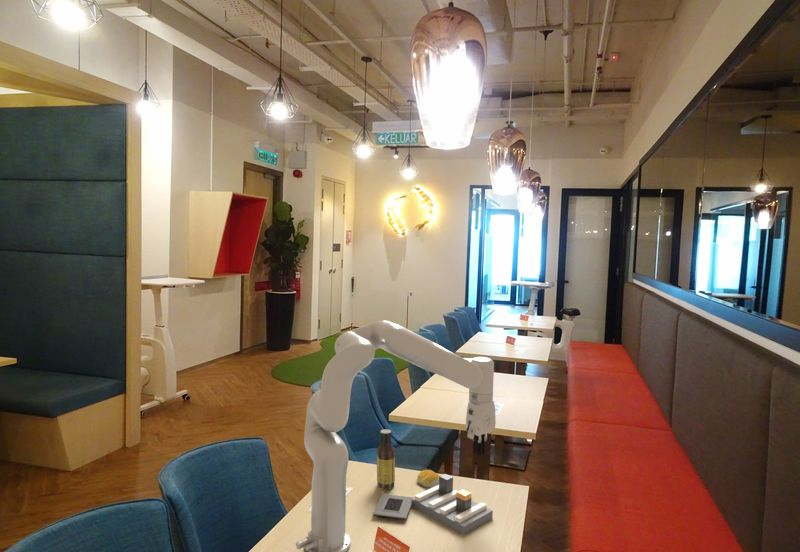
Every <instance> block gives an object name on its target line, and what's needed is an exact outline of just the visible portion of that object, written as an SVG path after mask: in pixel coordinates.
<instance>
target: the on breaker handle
mask: <svg viewBox="0 0 800 552" xmlns="http://www.w3.org/2000/svg"><path fill="white" fill-rule="evenodd" d="M453 484H454V477H453V476H451V475H449V474H447V473H443V474H442V475H440V476H439V493H441V494H443V495H445V494H448V493H450V492H452V491H454V485H453Z"/></svg>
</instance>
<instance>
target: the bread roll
mask: <svg viewBox="0 0 800 552" xmlns="http://www.w3.org/2000/svg"><path fill="white" fill-rule="evenodd" d="M439 476H441V475H440V474H439V473H436V472H435V471H433V470H432V469H423V470H422V471H419V472H418V475H417V476H416V477H417V479H416V480H417V483H418V484H419V485H421V486H422V487H425V488H428V489H431V488H433V487H435V486H437V485H439Z"/></svg>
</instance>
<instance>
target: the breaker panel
mask: <svg viewBox="0 0 800 552" xmlns="http://www.w3.org/2000/svg"><path fill="white" fill-rule="evenodd" d="M458 491H459V490H457V489H453V491H452V492H450V493H448V494H445V495H443V494H441V493H439V485H437V486H435V487H433V488H428V489H427V490H424V491H422V492H420V493H417V494H415V495H414V498H412V504H411V507H412V508H414V509H416V510H417V511H419V512H421V513H423V514H425V515H427V516H428V517H430V518H432V519H435V520H436V521H438V522H439V523H442V524H444V526H445V525H446V526H447V527H449V528H450V529H452V530H454V531H456V532H458V533H460V534H462V536H463V535H465V534H467V533H469V532H471V531H473V530H474V529H476V528H478V527H480V526H481V525H484V524H485V523H486V522H488V521H491V519H493V513H494V510H493V509H490V508H488V506H487V505H488V504H486V503H485V502H482V501H481V502H480V503H478V502H476V501H474V500H472V499H473V498H472V496H471V508H470V509H468V510H466V511H464V512H461V511H459V510H457V509H456V494H457V492H458Z"/></svg>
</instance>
